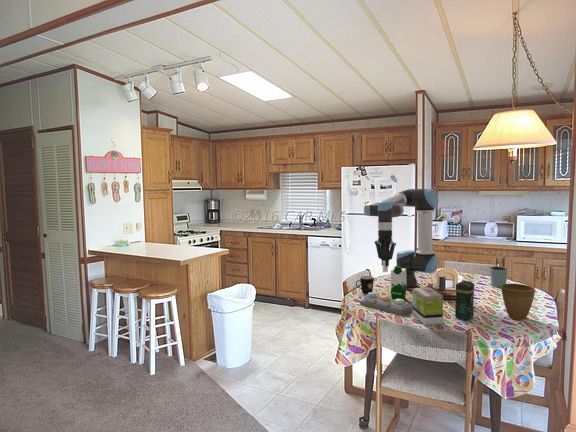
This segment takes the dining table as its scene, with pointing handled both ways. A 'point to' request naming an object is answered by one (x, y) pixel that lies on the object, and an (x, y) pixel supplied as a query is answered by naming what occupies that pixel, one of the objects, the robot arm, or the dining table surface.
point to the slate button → (372, 295)
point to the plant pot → (517, 300)
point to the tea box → (427, 306)
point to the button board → (386, 305)
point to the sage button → (399, 301)
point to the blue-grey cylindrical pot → (498, 276)
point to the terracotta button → (385, 298)
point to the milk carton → (398, 283)
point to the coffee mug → (366, 284)
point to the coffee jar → (464, 300)
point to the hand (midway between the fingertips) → (385, 271)
